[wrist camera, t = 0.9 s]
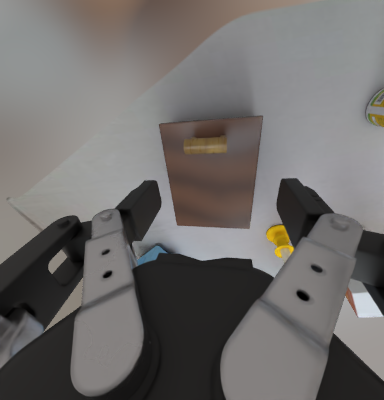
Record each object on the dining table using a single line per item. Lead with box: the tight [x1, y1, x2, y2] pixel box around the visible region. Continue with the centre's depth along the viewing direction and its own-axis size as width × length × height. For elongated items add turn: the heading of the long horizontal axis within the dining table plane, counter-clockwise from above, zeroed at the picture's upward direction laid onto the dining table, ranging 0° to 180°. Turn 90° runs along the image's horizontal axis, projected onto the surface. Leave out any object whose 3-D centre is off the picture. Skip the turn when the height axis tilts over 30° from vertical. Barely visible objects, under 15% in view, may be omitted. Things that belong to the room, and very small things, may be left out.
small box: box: [345, 279, 383, 318], centre depth 32 cm, size 8×6×13 cm
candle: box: [266, 225, 294, 263], centre depth 32 cm, size 5×5×16 cm
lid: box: [159, 116, 263, 229], centre depth 25 cm, size 18×14×5 cm
